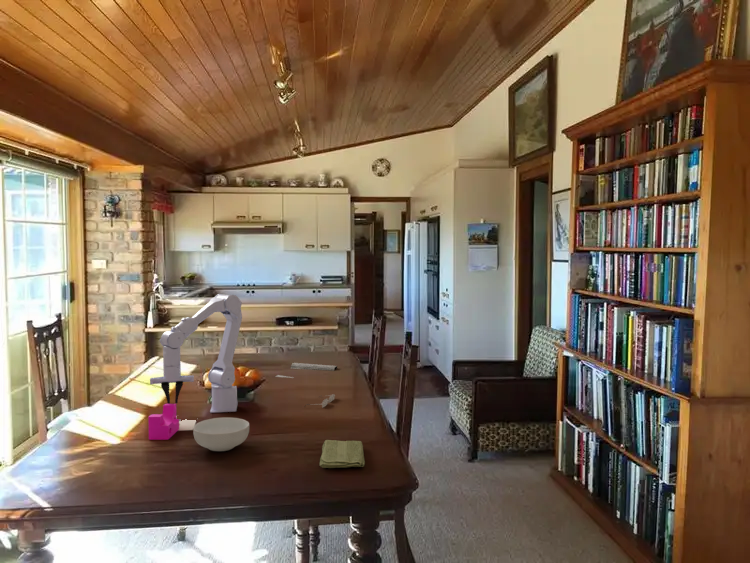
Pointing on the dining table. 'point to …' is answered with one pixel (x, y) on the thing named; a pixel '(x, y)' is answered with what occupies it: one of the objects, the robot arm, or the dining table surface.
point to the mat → (310, 367)
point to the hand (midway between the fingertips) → (172, 402)
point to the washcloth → (342, 454)
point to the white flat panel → (186, 424)
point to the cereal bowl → (221, 433)
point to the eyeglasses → (325, 401)
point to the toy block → (163, 423)
